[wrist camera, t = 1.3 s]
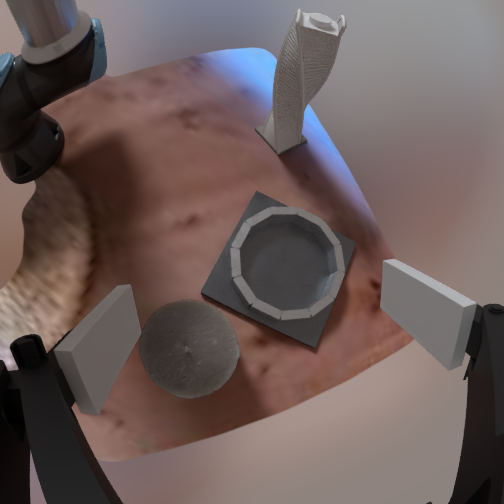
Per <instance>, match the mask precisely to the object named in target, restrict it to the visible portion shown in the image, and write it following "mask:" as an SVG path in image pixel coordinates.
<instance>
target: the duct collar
mask: <svg viewBox="0 0 504 504" xmlns="http://www.w3.org/2000/svg"><path fill="white" fill-rule="evenodd" d="M322 221H323V220H322V219H321V218H319V217H317V216H315V215H313V214H311V213H309V212H307V211H305V210H303V209H301V208H298V209H297V207H288V206H286V205H284V204H282V203H280V202H278V201H276V200H274V199H272V198H270V197H268V196H266V195H264V194H262V193H260V192H258V191H256V193H255V194H254V196H253V198H252V200H251V201H250V203H249V205H248V207H247V208H246V210H245V212H244V214H243V216H242V217H241V219H240V221H239V223H238V224H237V226H236V228H235V230H234V232H233V233H232V235H231V237H230V239H229V241H228V242H227V244H226V246H225V248H224V250H223V252H222V253H221V255H220V257H219V259H218V261H217V263H216V264H215V266H214V268H213V270H212V272H211V274H210V275H209V277H208V279H207V281H206V283H205V285H204V286H203V288H202V290H201V294H203V295H205V296H207V297H209V298H211V299H213V300H215V301H217V302H219V303H221V304H223V305H225V306H227V307H228V308H230V309H232V310H234V311H236V312H238V313H240V314H242V315H244V316H246V317H248V318H250V319H253V320H255V321H257V322H259V323H261V324H263V325H265V326H267V327H269V328H271V329H273V330H275V331H277V332H280V333H282V334H284V335H286V336H288V337H290V338H292V339H295V340H297V341H299V342H301V343H303V344H305V345H308V346H310V347H312V348H315V347H316V345H317V343H318V340H319V338H320V336H321V333H322V331H323V329H324V326H325V324H326V322H327V319H328V317H329V314H330V312H331V309H332V307H333V304H334V302H335V299H336V297H337V294H338V292H339V289H340V286H341V284H342V281H343V278H344V276H345V273H346V270H347V267H348V265H349V262H350V259H351V256H352V253H353V250H354V248H355V245H356V242H355V241H353V240H351V239H349V238H347V237H345V236H344V235H342V234H340V233H338V232H336V231H334V230H332V229H331V228H329V226H328V225H327V224H326V222H325V221H324V222H322Z"/></svg>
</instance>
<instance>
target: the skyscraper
mask: <svg viewBox="0 0 504 504" xmlns="http://www.w3.org/2000/svg"><path fill="white" fill-rule="evenodd" d="M341 18H342V20H343V26H342V28H341V30H340V32H339V31H338V25H337V24H338V23H339V21H340V20H341ZM346 26H347V23H346V19H345V17H344V16H343V15H340V16H339V17H338V18H337V20H336V21H333V20H331V19H330V18H329V17H327V16H325V15H322V14H319V13H311V14H308V13H304V12H302V10H301V9H298V10H297V13H296V15H295V17H294V19H293V21H292V23H291V26H290V28H289V30H288V32H287V35H286V37H285V40H284V42H283V45H282V48H281V51H280V54H279V57H278V61H277V65H276V70H275V76H274V84H273V107H272V109H271V111H270V113H269V115H268V117H267V120H266V122H265V124H264V125H261V126H259V127H257V128H255V130H256V132H257V133H258V134H259V135H260V136H261V137H262V138H263V139H264V140H265V141H266V142H267V144H268V145H269V146H270V147H271V148H272V149H273V150H274V151H275V153H276V154H277V155H280V154H282V153H284V152H286V151H288V150H290V149H292V148H294V147H296V146H298V145H300V144H302V143H304V142H306V141H307V139H306V138H305V137H304V136H303V135H302V128H303V119H304V111H305V108H306V106H307V104H308V103H309V101H310V100H311V99H312V98H313V97H314V96H315V95H316V94H317V92H318V91H319V90H320V89H321V87H322V86H323V85H324V83H325V81H326V80H327V78H328V76H329V74H330V72H331V70H332V67H333V65H334V62H335V58H336V55H337V51H338V48H339V44H340V40H341V36H342V35H343V33H344V31H345V29H346Z"/></svg>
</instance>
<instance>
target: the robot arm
mask: <svg viewBox="0 0 504 504" xmlns="http://www.w3.org/2000/svg"><path fill="white" fill-rule="evenodd" d="M6 2H7V4H8V7H9V9H10V11H11V13H12V15H13V17H14V19H15V21H16V23H17V25H18V27H19V30H20V31H21V33H22V35H23V37H24V39H25V41H24V43H23V46H22V50H21V54H20V55H19V56H17V57H14V55H13V54H11V53H5V54H2V55H0V162H1V165H2V168H3V171H4V173H5V174H6V176H7V177H8V178H9V179H10V180H11V181H13V182H14V183H17V184H24V183H28V182H30V181H33V180H35V179H36V178H38V177H39V176H41V175H42V174H43V173H44V172H46V171H47V170H48V169H49V168H50V166H51V165H52V164H53V163H54V162H55V160H56V159H57V157H58V155H59V154H60V152H61V149H62V147H63V143H64V133H63V130H62V129H61V127H60V125H59V123H58V122H57V121H56V120H54V119H53V118H52V117H50V116H49V115H47V114H46V113H45V112H43V111H42V110H41V108H43V107H45V106H47V105H49V104H50V103H52V102H54V101H56V100H58V99H60V98H62V97H64V96H66V95H68V94H70V93H72V92H74V91H76V90H78V89H80V88H83V87H86V86H88V85H89V84H90V83H92V82H94V81H96V80H97V79H99V78H101V77H102V76H103V75H104V74H105V72H106V68H107V55H106V47H105V45H104V44H105V42H104V35H103V29H102V25H101V22H100V20H99V19H98V18H90V16H89V15H88V14H87V13H86V12H84V11H81V10H78V9H77V5H76V1H75V0H6ZM380 308H381V309H382V310H383V311H384V312H385V313H387V314H388V315H389V316H390V317H391V318H392V319H393V320H394V321H395V322H397V323H398V324H399V325H400V326H401V327H402V328H403V329H404V330H405V331H406V332H408V333H409V334H410V335H411V336H412V337H413V338H414V339H415V340H416V341H417V342H418V343H420V344H421V345H422V346H423V347H424V348H425V349H426V350H427V351H428V352H429V353H430V354H431V355H432V356H433V357H435V358H436V359H437V360H438V361H439V362H440V363H441V364H442V365H443V366H444V367H445V368H446V369H447V370H451V369H454V368H456V367H459V366H461V365H462V362H463V359H464V355H465V352H466V353H467V354H469V355H470V356H471V357H470V360H469V364H468V367H467V370H466V373H465V376H464V379H463V380H466V377H468V393H467V408H466V419H465V429H464V437H463V444H462V450H461V456H460V462H459V467H458V472H457V477H456V481H455V486H454V490H453V494H452V497H451V499H450V501H449V503H448V504H504V306H501V305H499V304H488V305H485V306H484V307H481V306H480V305H478V304H477V303H476V302H474V301H472V300H470V299H469V298H467V297H465V296H463V295H462V294H460V293H458V292H456V291H455V290H453V289H451V288H449V287H447V286H445V285H444V284H442V283H440V282H438V281H436V280H434V279H432V278H430V277H429V276H427V275H425V274H423V273H421V272H419V271H417V270H415V269H413V268H412V267H410V266H408V265H406V264H404V263H402V262H400V261H398V260H396V259H391V260H383V273H382V290H381V303H380ZM141 333H142V331H141V327H140V323H139V319H138V315H137V310H136V306H135V301H134V296H133V292H132V287H131V284H129V285H118V286H117V287H115V288H114V289H113V290H112V291H111V292H110V293H109V294H108V295H107V296H106V297H105V298H104V299H103V300H102V301H101V302H100V303H99V304H98V305H97V306H96V307H95V308H94V309H93V310H92V311H91V312H90V313H89V314H88V315H87V316H86V317H85V318H84V319H83V320H82V321H81V322H80V323H79V324H78V325H77V326H76V327H75V328H74V329H72V330H70V331H69V332H67V333H66V334H65V335H64V336H63V337H62V339H60V340H59V341H58V342H57V344H55V346H54V347H53V348H52V349H51V350H50V351H49V352H48V353H46V350H45V347H44V345H43V342H42V339H41V337H40V336H39V335H36V334H30V335H25V336H22V337H20V338H18V339H16V340H15V341H13V342H12V343H11V345H10V350H11V352H12V355H13V357H14V359H15V362H16V364H17V366H18V370H13V371H8V370H7V368H6V365H5V363H4V362H3V360H0V504H30V449H31V453H32V457H33V461H34V465H35V468H36V472H37V475H38V479H39V482H40V485H41V488H42V491H43V494H44V497H45V500H46V502H47V504H123V503H122V501H121V500H120V498H119V497H118V495H117V493H116V492H115V490H114V489H113V487H112V485H111V484H110V482H109V480H108V479H107V477H106V476H105V474H104V472H103V470H102V469H101V467H100V465H99V463H98V461H97V459H96V458H95V456H94V454H93V452H92V450H91V448H90V446H89V444H88V442H87V440H86V438H85V436H84V434H83V431H82V429H81V427H80V425H79V423H78V420H77V418H76V416H75V414H74V412H73V410H72V408H71V407H72V406H73V404H74V402H75V401H76V403H77V405H78V407H79V409H80V411H81V413H85V414H93V415H99V413H100V411H101V409H102V407H103V405H104V403H105V401H106V399H107V397H108V395H109V393H110V391H111V389H112V387H113V385H114V383H115V381H116V380H117V378H118V376H119V374H120V372H121V370H122V368H123V366H124V364H125V362H126V361H127V359H128V357H129V355H130V353H131V351H132V350H133V348H134V346H135V344H136V342H137V340H138V339H139V337H140V335H141ZM427 504H432V503H431V502H429V503H427Z"/></svg>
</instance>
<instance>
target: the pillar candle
mask: <svg viewBox="0 0 504 504" xmlns="http://www.w3.org/2000/svg"><path fill="white" fill-rule="evenodd" d="M139 347H140V357H141V361H142V364H143V366H144V369H145V370H146V372H147V373H148V375H149V376H150V378H151V379H152V380H153V381H154V382H155V383H156V384H157V385H158V386H159V387H161V388H162V389H163V390H165V391H167V392H169V393H171V394H173V395H175V396H176V397H178V398H182V397H184V398H187V399H193V398H198V397H202V396H205V395H210V394H212V392H214V391H217V390H219V389H220V388H221V387H222V386H223V385H224V384H225V383H226V382H227V381H228V380H229V379H230V377H231V376H232V374H233V372H234V370H235V368H236V365H237V361H238V359H239V358H240V357H239V356H240V348H239V347H238V342H237V336H236V334H235V331H234V329H233V327H232V325H231V323H230V322H229V320H228V319H227V318H226V317H225V316H224V315H223V314H222V313H221V312H220V311H219V310H218V309H216V308H215V307H213V306H211V305H209V304H207V303H204V302H200V301H195V300H179V301H175V302H172V303H169V304H166V305H164V306H163V307H161V308H160V309H158V310H157V311H156V312H154V313H153V315H152V316H151V317H150V318H149V319H148V321H147V322H146V324H145V326H144V328H143V330H142V333H141V337H140V344H139Z"/></svg>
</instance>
